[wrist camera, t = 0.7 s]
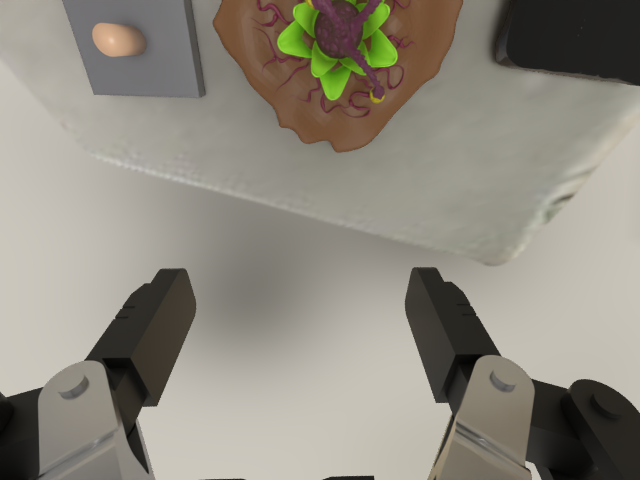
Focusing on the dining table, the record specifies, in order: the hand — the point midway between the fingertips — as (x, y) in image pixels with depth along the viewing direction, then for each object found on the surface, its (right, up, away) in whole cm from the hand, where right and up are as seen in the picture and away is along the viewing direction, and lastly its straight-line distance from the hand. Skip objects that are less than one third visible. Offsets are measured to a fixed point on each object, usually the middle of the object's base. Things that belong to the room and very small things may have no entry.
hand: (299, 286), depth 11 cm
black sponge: (+25, +22, +18) cm, 38 cm away
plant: (+2, +22, +18) cm, 28 cm away
